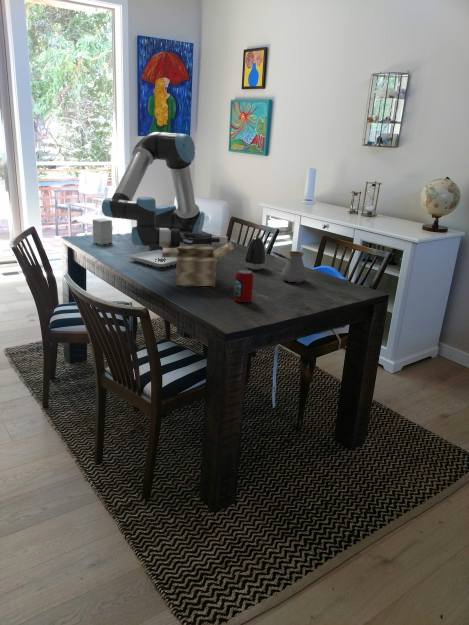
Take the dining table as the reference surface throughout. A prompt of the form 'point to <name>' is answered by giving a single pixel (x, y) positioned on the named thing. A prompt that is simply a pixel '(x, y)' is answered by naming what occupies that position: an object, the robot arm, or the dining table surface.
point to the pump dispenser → (255, 254)
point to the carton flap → (224, 250)
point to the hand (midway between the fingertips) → (227, 240)
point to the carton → (193, 265)
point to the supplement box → (102, 231)
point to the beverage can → (243, 285)
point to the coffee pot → (293, 267)
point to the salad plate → (152, 255)
